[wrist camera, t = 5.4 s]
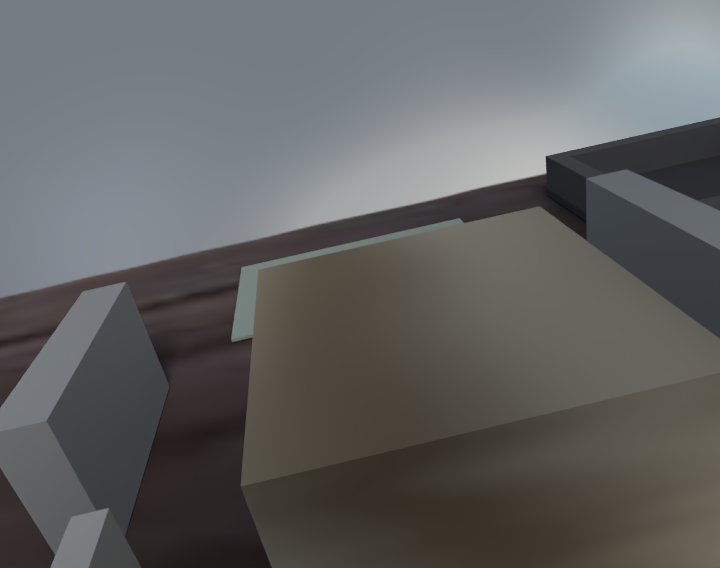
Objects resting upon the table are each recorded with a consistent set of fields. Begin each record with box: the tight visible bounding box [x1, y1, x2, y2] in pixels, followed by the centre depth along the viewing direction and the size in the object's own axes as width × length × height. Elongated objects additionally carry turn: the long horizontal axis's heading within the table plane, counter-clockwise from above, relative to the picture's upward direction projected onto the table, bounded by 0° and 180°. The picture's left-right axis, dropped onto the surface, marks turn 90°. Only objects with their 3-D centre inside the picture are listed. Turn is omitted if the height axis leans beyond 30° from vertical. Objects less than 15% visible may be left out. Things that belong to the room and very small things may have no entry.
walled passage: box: [0, 169, 720, 555], centre depth 23 cm, size 26×10×6 cm, turn 98°
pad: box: [231, 218, 463, 342], centre depth 36 cm, size 16×10×1 cm, turn 98°
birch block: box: [241, 206, 720, 568], centre depth 12 cm, size 6×6×11 cm
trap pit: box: [546, 118, 720, 221], centre depth 36 cm, size 14×14×3 cm
